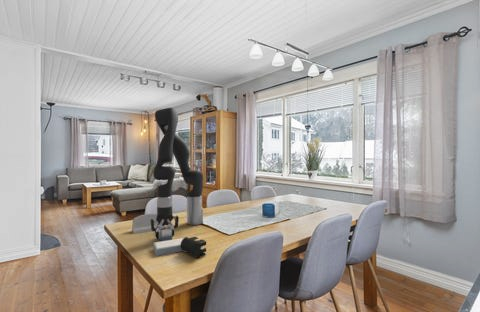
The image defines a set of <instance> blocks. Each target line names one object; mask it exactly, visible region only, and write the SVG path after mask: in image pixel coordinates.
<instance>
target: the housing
mask: <svg viewBox="0 0 480 312" xmlns="http://www.w3.org/2000/svg"><path fill="white" fill-rule="evenodd" d="M158 232H159V239H158V240H159V242H161V241H168V240H173V237H172V228H171V226H170V225H164V226H162V225H161V227H160V229H159V231H158Z"/></svg>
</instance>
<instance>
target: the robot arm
mask: <svg viewBox="0 0 480 312" xmlns="http://www.w3.org/2000/svg"><path fill="white" fill-rule="evenodd" d="M154 117H155V118H154V119H155V121H156V124H157V125H158V127H159V129H160V130H161V132H162V134H163V137H162V139H161V140H160V142H159V145H158V153H157V154H158V155H157V156H158V157H157V161H156V165H155V166H154V169H153V173H152V175H153V177H154V179H155V180H156V181H167V182H166V183H163V184H160V185H157V189H156V191H157V195H156V196H157V197H156V199H157V200H156V214H157V217H156V218H155V219H152V218H151V219H150V220H151V230H152V231H151V232H154V235H155V236H154V237H155V239H157V240H159V232H158V231H159V229H160V227H161V225H162V226H164V225H170V227H171V228H172V238H173V237H174V236H175V229H178V228H179V221H180V220H179V216H178V215H173V195H172V191H173V182H174V179H175V175H176V169H175V168H174V167H173V166H171V165H170V166H168V165H167V166H166V165H165V164H167V163H168V164H169V163H171V162H172V161H173V156H174V158H175V161H176V163H177V164H178V167H179V169H180V170H179V171H180V173H181V176H182V179H183V181H184V183H185V184H186V185H190V186H192V189H190V190H188V191H187V192H186V225H190V226H198V225H201V224H203V223H204V208H203V206H202V205H203V196H202V195H203V194H202V193H203V191H204V190H203V189H204V187H203V186H204V174H203V173H202V171H201V170H192V169H191V167H190V165H189V159H190V153H191V152H190V149H189V147H188V144H187V142H186V141H185V140H184V139H183V137H181V136H180V135H178V134H177V126H178V121H179V114H178V112H177V109H175V107H167V108H162V109H158V110H156V111H155V113H154ZM156 220H157V222H158V224H157V227H156V228H154V223H155V221H156ZM173 220H174V225H173V223H172V221H173Z"/></svg>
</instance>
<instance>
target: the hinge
mask: <svg viewBox="0 0 480 312" xmlns="http://www.w3.org/2000/svg"><path fill="white" fill-rule="evenodd" d="M156 217H157V213H145V214H142V215H138V216H136V217H134V218H133V219H132V227H131V232H132V233H133V234H141V233H148V232H153V231H152V230H151V220H150V219H151V218H152V219H155V218H156ZM157 224H158V222H157V220H156V221H155V223H154V228H156V227H157Z"/></svg>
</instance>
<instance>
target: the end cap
mask: <svg viewBox="0 0 480 312" xmlns="http://www.w3.org/2000/svg"><path fill="white" fill-rule="evenodd" d="M205 246H207V241H206V240H205V239H200V240H199V237H197V236H192V237H188V236H185V237H183V240H182V241H181V249H182V250H183V251H182V252H185V253H187V254H189V255H191V256H193V257H195V258H198V259H199V258H201V257H204V256H206V252H207V247H205ZM203 247H204V248H203Z"/></svg>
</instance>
